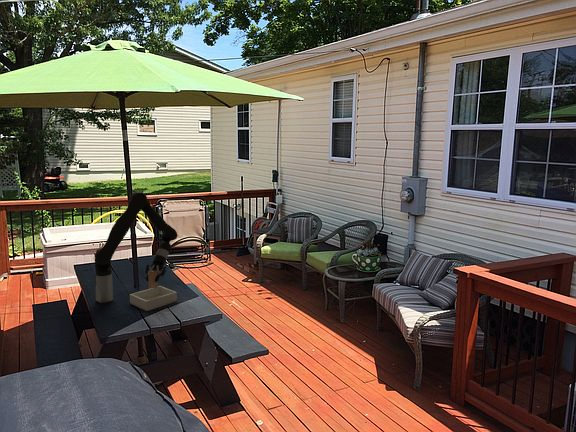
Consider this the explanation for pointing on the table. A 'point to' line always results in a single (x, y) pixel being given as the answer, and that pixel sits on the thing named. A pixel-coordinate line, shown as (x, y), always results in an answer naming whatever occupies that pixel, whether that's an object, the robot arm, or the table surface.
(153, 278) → the jar
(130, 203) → the robot arm
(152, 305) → the bin
